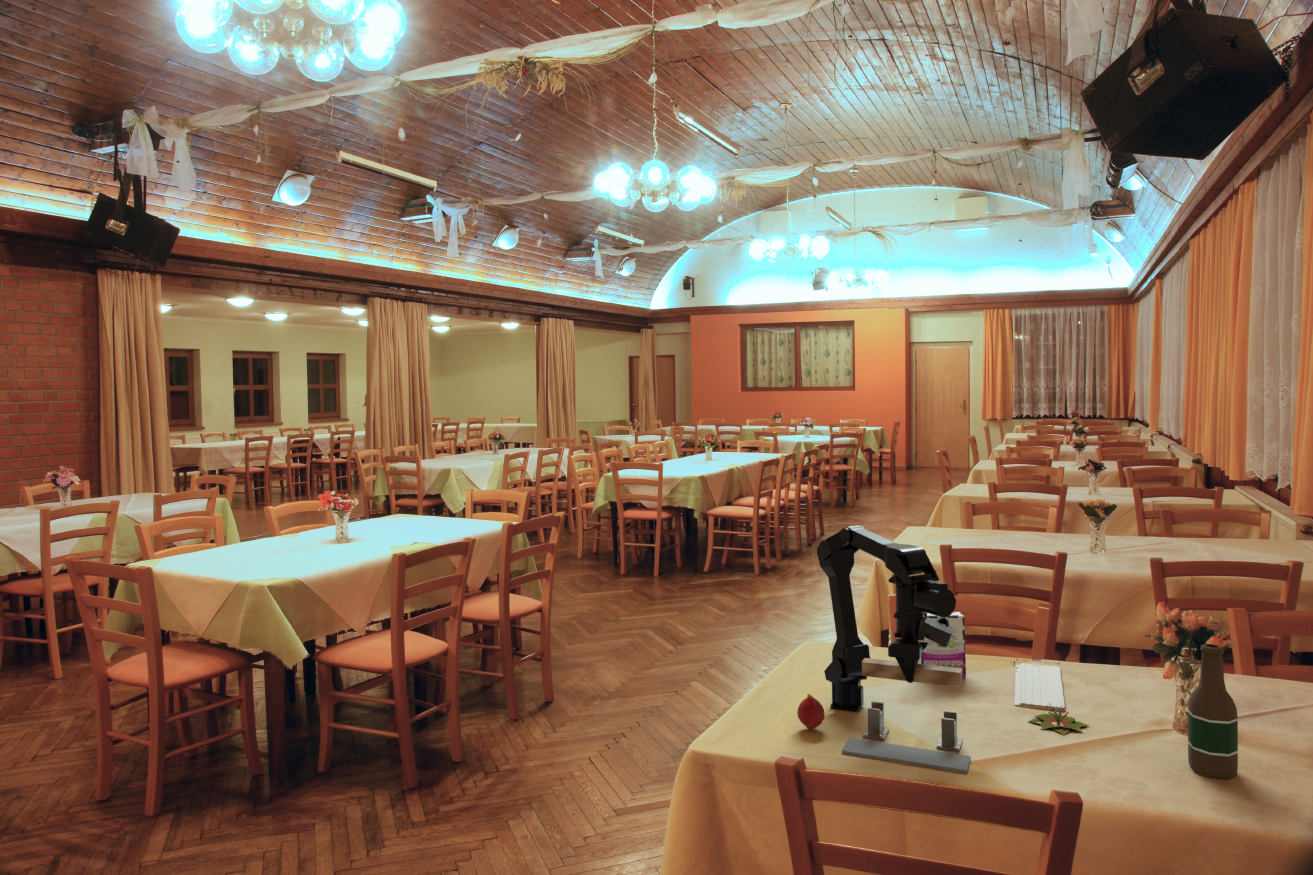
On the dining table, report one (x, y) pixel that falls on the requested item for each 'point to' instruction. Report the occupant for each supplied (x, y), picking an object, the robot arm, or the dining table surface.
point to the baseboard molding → (1039, 686)
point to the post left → (876, 722)
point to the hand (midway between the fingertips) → (911, 679)
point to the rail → (921, 674)
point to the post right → (949, 733)
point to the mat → (907, 755)
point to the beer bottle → (1212, 720)
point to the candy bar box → (954, 650)
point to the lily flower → (1058, 721)
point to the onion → (810, 712)
